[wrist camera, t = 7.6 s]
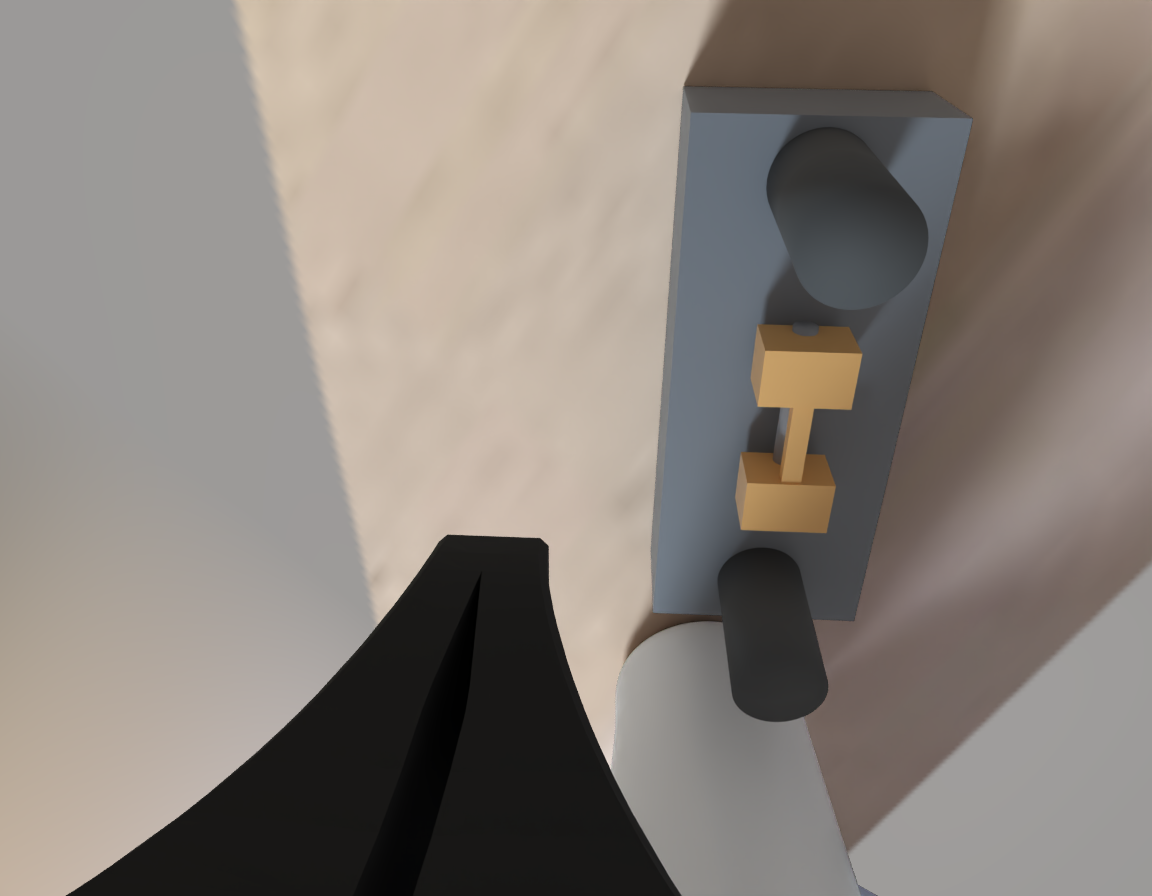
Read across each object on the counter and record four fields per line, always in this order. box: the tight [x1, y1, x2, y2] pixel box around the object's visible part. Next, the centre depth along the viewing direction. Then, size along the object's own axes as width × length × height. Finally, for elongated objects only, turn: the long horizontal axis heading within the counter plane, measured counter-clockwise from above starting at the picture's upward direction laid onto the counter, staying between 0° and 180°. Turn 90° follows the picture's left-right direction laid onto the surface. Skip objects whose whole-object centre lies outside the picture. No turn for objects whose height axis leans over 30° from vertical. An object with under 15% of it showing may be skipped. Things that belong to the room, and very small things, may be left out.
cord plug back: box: [718, 548, 828, 722], centre depth 20 cm, size 2×2×4 cm
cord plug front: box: [766, 127, 929, 310], centre depth 15 cm, size 2×2×4 cm
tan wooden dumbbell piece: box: [735, 321, 862, 533], centre depth 18 cm, size 4×2×1 cm, turn 0°
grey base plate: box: [651, 86, 973, 621], centre depth 20 cm, size 12×5×2 cm, turn 0°
